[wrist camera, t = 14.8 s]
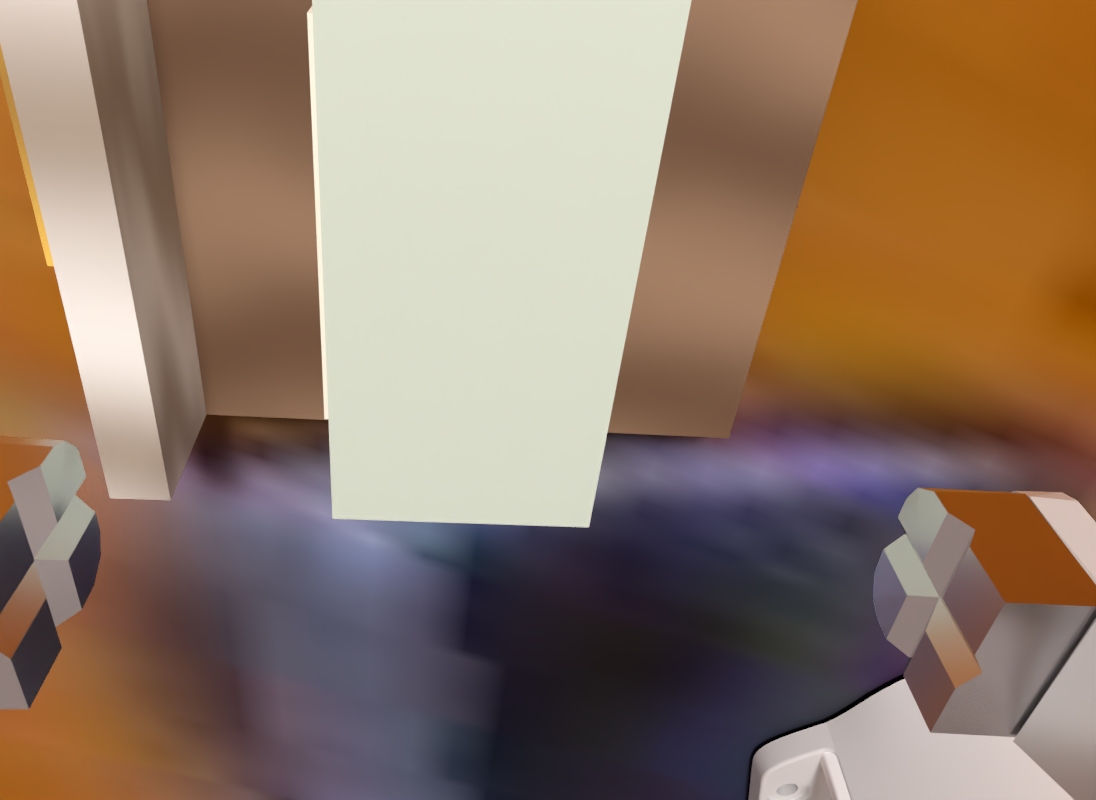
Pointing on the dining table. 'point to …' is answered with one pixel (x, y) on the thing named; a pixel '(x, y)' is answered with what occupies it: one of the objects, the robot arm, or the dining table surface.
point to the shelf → (290, 219)
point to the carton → (481, 244)
